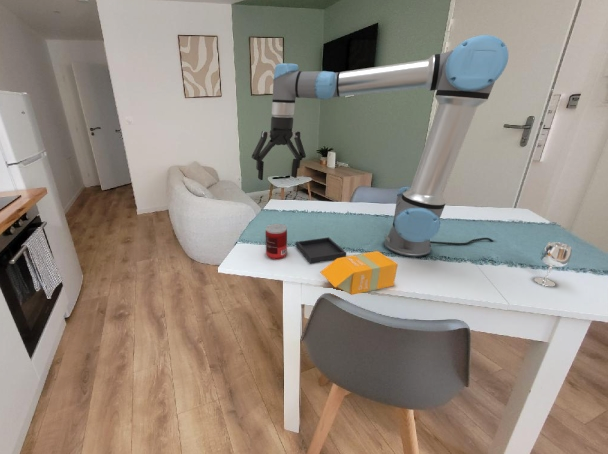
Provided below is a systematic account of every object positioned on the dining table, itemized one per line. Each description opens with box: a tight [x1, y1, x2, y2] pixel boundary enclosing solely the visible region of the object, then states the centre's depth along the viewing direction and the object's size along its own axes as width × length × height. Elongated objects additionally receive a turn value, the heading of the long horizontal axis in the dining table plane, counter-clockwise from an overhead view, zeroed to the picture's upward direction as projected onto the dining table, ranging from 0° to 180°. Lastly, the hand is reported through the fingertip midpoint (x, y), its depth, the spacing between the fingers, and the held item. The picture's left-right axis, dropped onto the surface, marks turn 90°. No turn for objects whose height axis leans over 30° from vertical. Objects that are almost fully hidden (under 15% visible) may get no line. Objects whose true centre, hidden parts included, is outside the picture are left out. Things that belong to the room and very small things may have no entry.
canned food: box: [265, 223, 288, 260], centre depth 106 cm, size 8×8×11 cm
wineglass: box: [533, 241, 573, 287], centre depth 83 cm, size 6×6×12 cm
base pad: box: [295, 236, 347, 265], centre depth 108 cm, size 14×14×2 cm
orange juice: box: [319, 250, 398, 296], centre depth 87 cm, size 8×9×20 cm
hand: (277, 178), depth 106 cm, fingers open, 13 cm apart
